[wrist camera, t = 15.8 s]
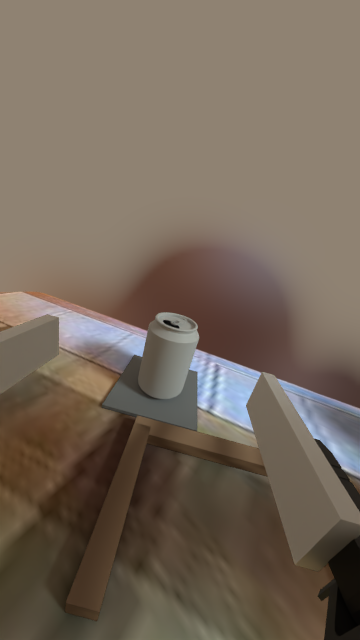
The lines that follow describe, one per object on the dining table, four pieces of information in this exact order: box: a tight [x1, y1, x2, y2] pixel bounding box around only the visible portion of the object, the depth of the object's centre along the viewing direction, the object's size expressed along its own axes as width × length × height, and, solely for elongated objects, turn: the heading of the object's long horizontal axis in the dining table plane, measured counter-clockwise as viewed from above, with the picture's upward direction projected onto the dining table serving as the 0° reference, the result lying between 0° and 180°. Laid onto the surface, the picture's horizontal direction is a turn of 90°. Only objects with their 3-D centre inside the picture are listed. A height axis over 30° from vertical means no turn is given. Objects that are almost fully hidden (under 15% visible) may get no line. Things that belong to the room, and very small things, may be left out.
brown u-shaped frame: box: [65, 415, 268, 621], centre depth 17 cm, size 23×13×2 cm, turn 84°
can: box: [138, 313, 199, 399], centre depth 28 cm, size 8×8×12 cm
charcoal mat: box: [102, 355, 197, 432], centre depth 30 cm, size 13×13×1 cm
